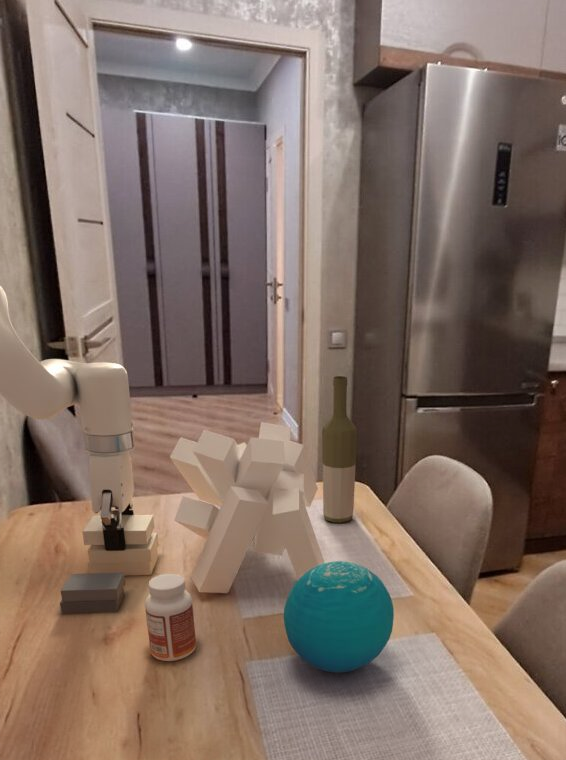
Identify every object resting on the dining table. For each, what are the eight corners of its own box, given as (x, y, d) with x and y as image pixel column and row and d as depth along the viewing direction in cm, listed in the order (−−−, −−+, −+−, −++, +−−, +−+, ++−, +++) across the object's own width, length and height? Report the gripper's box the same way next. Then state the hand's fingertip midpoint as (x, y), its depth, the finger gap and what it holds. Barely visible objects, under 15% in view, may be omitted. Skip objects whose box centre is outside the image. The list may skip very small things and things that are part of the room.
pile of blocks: (151, 563, 130) (78, 431, 103) (272, 481, 143) (235, 345, 116) (258, 678, 114) (204, 557, 87) (384, 574, 126) (372, 440, 99)
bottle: (335, 528, 137) (336, 382, 126) (315, 517, 142) (315, 376, 130) (361, 520, 142) (365, 378, 130) (341, 510, 146) (343, 372, 135)
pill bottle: (196, 636, 98) (191, 569, 94) (195, 660, 93) (190, 590, 88) (152, 640, 97) (144, 572, 92) (148, 665, 91) (140, 593, 87)
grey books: (61, 614, 102) (57, 591, 100) (72, 596, 107) (68, 573, 105) (119, 612, 103) (116, 589, 102) (126, 594, 108) (124, 572, 107)
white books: (89, 577, 113) (85, 550, 111) (99, 558, 119) (96, 533, 118) (153, 575, 115) (150, 549, 113) (160, 557, 121) (157, 532, 119)
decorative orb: (413, 667, 94) (420, 572, 88) (328, 711, 84) (329, 607, 78) (346, 622, 104) (348, 534, 98) (263, 657, 94) (260, 562, 88)
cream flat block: (84, 545, 111) (82, 531, 110) (94, 528, 117) (93, 515, 116) (147, 544, 112) (145, 530, 112) (154, 527, 119) (153, 514, 118)
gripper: (98, 426, 116) (109, 521, 122) (69, 457, 100) (84, 563, 107) (143, 427, 117) (152, 520, 124) (122, 457, 101) (133, 562, 108)
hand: (120, 539), depth 115 cm, fingers closed on cream flat block, 7 cm apart
